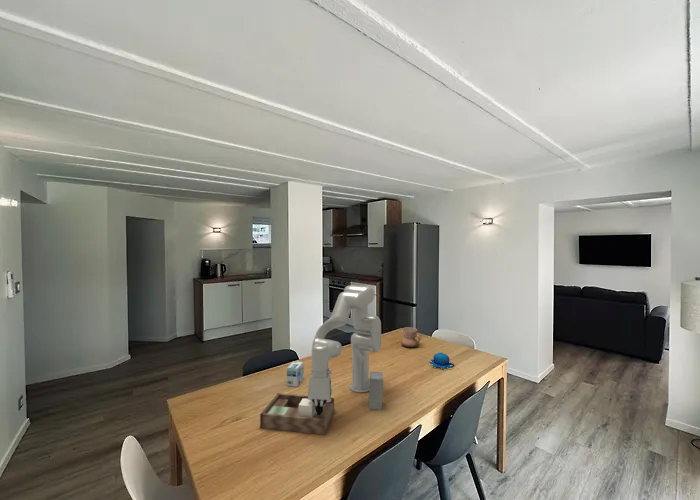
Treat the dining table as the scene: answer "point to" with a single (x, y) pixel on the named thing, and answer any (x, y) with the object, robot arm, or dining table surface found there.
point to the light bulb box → (295, 373)
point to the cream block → (306, 408)
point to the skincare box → (376, 390)
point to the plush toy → (441, 361)
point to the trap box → (294, 415)
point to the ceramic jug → (410, 337)
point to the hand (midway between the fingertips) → (319, 413)
